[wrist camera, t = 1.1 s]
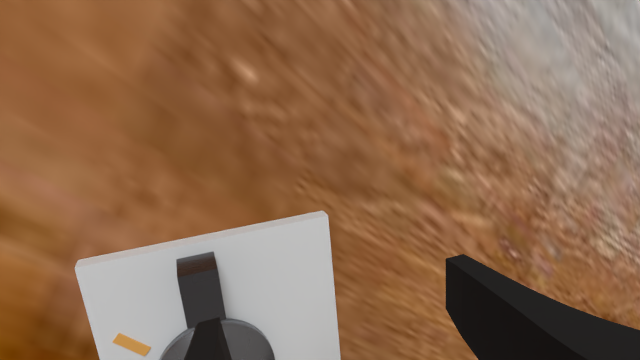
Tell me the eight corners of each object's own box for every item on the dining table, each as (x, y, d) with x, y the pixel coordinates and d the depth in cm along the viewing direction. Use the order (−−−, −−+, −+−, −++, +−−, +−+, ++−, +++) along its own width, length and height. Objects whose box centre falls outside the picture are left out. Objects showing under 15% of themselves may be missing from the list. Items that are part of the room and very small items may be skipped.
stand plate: (339, 391, 32) (344, 402, 31) (132, 459, 28) (131, 474, 27) (322, 210, 28) (328, 216, 27) (78, 260, 24) (74, 268, 23)
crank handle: (279, 398, 28) (288, 427, 26) (167, 434, 27) (167, 468, 24) (257, 240, 25) (265, 257, 23) (127, 268, 23) (123, 289, 21)
